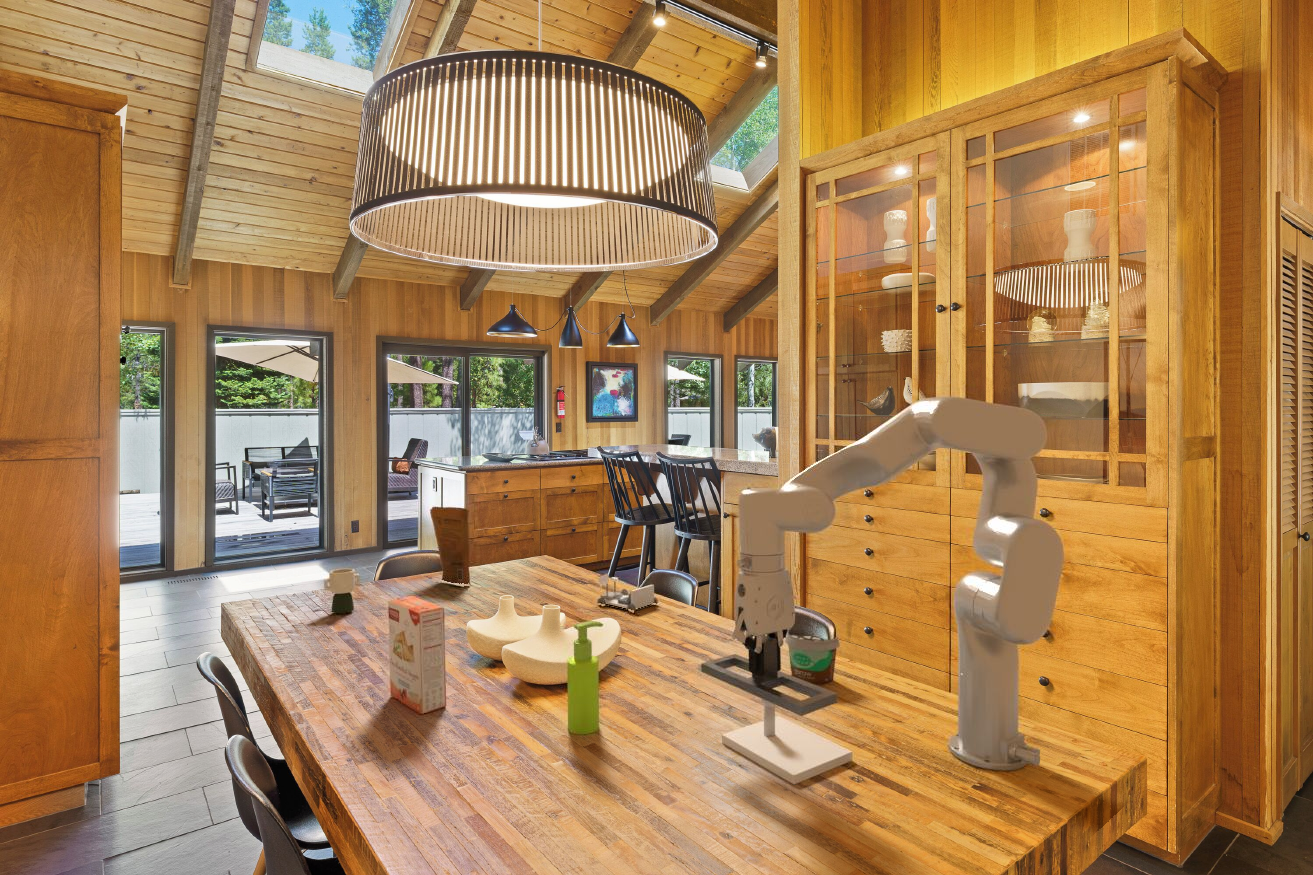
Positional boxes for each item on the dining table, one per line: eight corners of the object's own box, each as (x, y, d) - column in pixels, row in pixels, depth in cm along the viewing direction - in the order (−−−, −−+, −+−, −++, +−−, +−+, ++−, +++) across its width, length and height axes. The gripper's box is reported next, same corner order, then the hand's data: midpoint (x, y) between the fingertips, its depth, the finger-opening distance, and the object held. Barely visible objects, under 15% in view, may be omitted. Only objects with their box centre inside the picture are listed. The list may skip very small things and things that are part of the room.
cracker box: (388, 697, 151) (386, 599, 150) (415, 689, 155) (413, 594, 155) (419, 716, 141) (417, 611, 141) (447, 707, 145) (445, 606, 145)
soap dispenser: (609, 728, 135) (608, 624, 134) (575, 737, 131) (574, 630, 131) (596, 717, 140) (595, 616, 139) (563, 725, 136) (562, 622, 136)
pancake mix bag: (462, 590, 245) (461, 509, 245) (429, 582, 257) (428, 505, 256) (478, 586, 251) (476, 507, 250) (445, 579, 262) (444, 503, 262)
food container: (777, 681, 159) (777, 636, 158) (786, 672, 164) (786, 629, 164) (833, 690, 153) (833, 644, 153) (839, 681, 158) (839, 636, 158)
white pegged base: (852, 760, 122) (852, 705, 122) (793, 784, 114) (793, 726, 114) (778, 723, 137) (778, 674, 136) (721, 742, 129) (721, 691, 128)
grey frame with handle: (837, 702, 112) (836, 652, 111) (801, 715, 107) (800, 663, 107) (735, 661, 131) (734, 618, 131) (701, 671, 127) (700, 627, 126)
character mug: (354, 607, 224) (354, 566, 223) (365, 611, 219) (364, 569, 219) (319, 614, 216) (318, 572, 215) (330, 618, 211) (329, 575, 210)
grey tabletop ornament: (590, 574, 225) (615, 568, 234) (591, 605, 225) (615, 598, 234) (633, 582, 214) (657, 575, 223) (634, 615, 214) (658, 607, 223)
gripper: (741, 573, 111) (743, 689, 111) (813, 559, 120) (815, 666, 121) (710, 565, 117) (713, 676, 117) (781, 552, 126) (783, 655, 127)
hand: (764, 670), depth 119 cm, fingers closed on grey frame with handle, 3 cm apart
